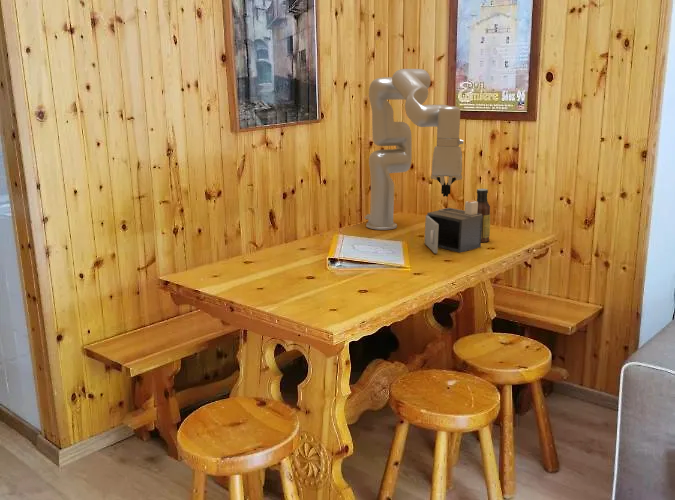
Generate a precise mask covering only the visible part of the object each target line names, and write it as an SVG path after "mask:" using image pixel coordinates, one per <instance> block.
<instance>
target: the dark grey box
mask: <svg viewBox="0 0 675 500" xmlns="http://www.w3.org/2000/svg"><path fill="white" fill-rule="evenodd" d="M426 215H428V216H429V217H430V218H432V219H433V220H434V221H435V222H436V223H438V224H439V230H438V249H439V248H440V249H444V250H446V251H447V250H448V251H452V252H457V253H460V254H461V253H464V252H467V251H468V252H469V251H471V250H475V249H480V248H481V247H482V242H481V234H482V218H483V215H482V214H479V213H477V214H475V215H467V214H465V209H464V210H462V209H458V208H452V207H447V208H441V209H440V208H439V209H438V210H435V211H428V212H427V214H426Z"/></svg>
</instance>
